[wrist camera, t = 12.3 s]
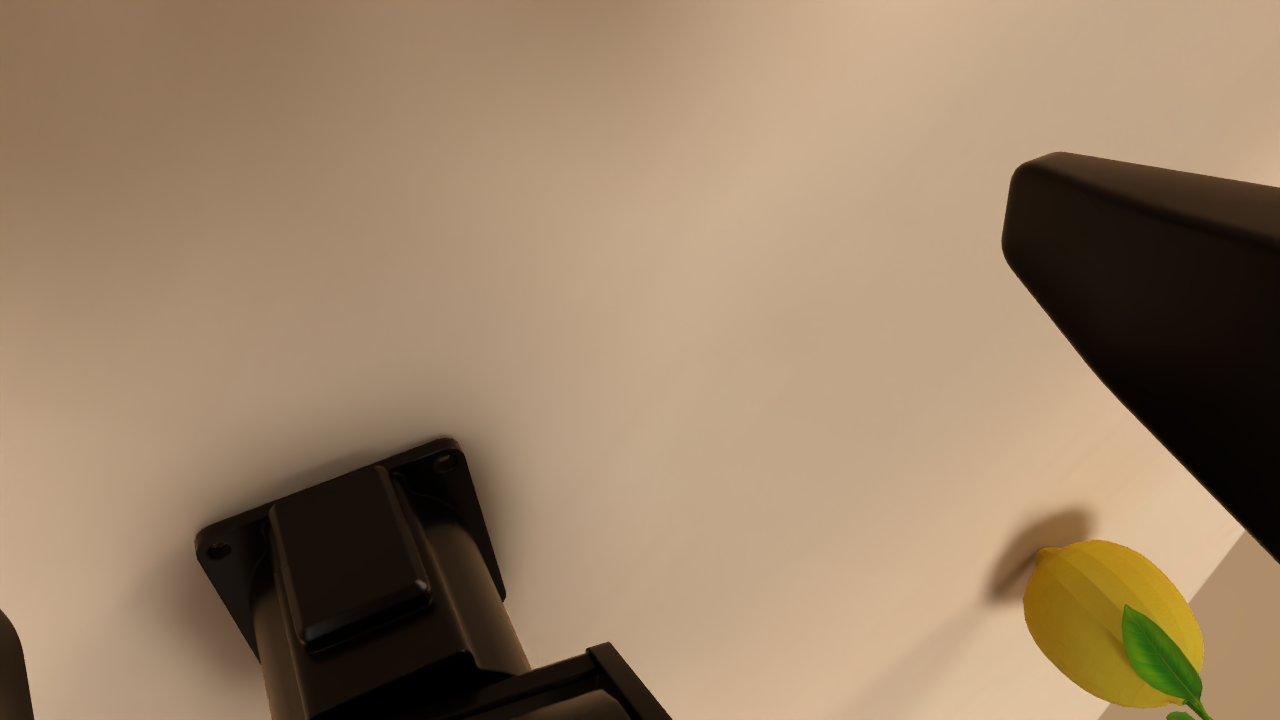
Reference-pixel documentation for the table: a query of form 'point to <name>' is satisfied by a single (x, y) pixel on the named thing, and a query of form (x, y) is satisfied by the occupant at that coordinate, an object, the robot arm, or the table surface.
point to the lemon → (1116, 626)
